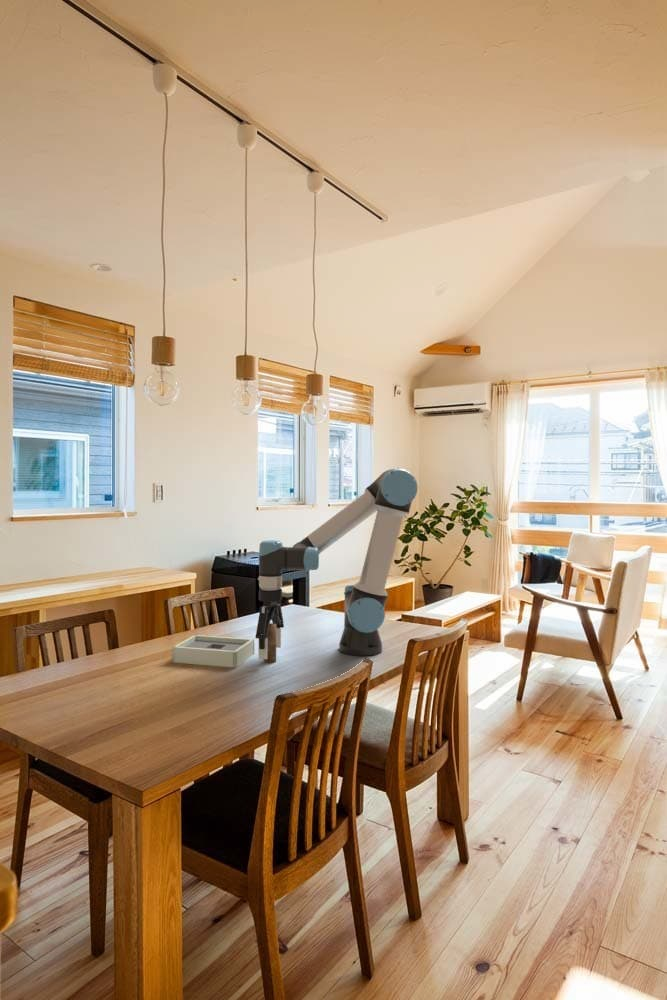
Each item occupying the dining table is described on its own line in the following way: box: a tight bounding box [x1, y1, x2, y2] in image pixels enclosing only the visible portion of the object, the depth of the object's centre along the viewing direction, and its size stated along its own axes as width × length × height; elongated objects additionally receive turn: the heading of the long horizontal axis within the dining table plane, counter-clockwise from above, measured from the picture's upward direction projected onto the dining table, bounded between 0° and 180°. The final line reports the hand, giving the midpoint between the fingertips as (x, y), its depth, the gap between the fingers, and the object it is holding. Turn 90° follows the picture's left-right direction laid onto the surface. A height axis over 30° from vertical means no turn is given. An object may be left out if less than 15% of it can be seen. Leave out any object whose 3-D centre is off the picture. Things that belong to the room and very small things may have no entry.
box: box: [171, 634, 255, 669], centre depth 202 cm, size 22×16×5 cm
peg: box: [263, 622, 277, 664], centre depth 199 cm, size 4×4×12 cm
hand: (270, 652), depth 199 cm, fingers open, 13 cm apart
